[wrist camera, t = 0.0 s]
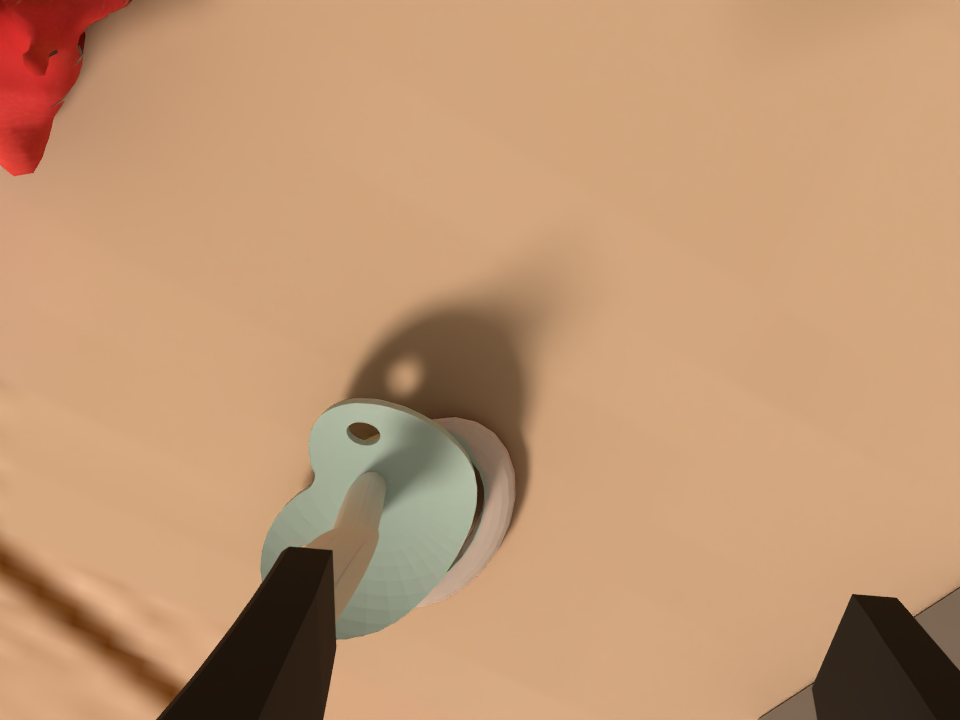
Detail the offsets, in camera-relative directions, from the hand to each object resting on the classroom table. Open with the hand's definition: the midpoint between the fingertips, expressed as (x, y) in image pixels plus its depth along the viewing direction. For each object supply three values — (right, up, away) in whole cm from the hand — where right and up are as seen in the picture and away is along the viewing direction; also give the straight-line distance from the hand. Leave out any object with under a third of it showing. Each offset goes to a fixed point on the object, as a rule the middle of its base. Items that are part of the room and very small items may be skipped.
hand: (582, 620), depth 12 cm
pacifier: (-4, 0, +12) cm, 13 cm away
